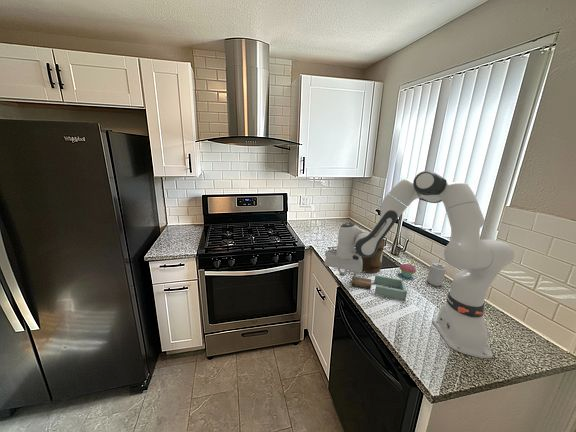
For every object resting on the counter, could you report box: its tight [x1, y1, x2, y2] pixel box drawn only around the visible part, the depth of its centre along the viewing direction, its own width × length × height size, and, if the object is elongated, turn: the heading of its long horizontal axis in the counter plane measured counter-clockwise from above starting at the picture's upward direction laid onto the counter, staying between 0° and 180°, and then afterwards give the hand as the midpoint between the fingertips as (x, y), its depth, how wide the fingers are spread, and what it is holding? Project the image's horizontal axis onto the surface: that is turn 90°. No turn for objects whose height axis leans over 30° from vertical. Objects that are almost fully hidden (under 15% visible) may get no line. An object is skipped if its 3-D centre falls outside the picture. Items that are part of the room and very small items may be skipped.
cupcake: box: [399, 257, 417, 279], centre depth 139 cm, size 9×8×12 cm
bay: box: [374, 274, 408, 301], centre depth 124 cm, size 12×14×4 cm
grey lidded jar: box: [426, 261, 447, 287], centre depth 132 cm, size 8×8×12 cm
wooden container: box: [361, 239, 385, 274], centre depth 145 cm, size 15×15×22 cm
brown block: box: [351, 272, 372, 291], centre depth 127 cm, size 7×10×5 cm, turn 72°
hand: (341, 275), depth 131 cm, fingers closed
